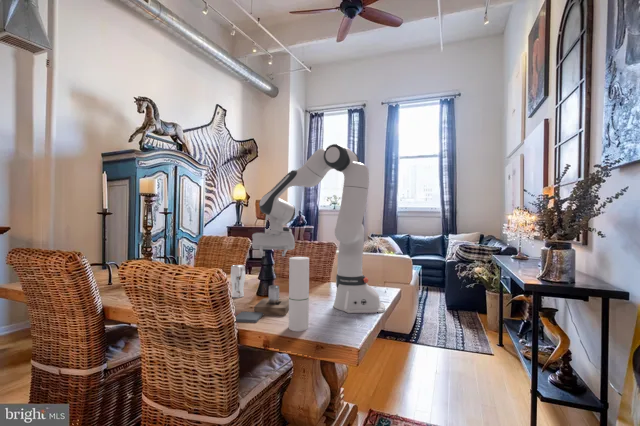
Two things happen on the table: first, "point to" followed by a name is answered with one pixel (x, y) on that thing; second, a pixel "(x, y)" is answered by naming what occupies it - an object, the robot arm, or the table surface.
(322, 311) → the table surface
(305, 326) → the cylindrical container
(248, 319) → the slate mat
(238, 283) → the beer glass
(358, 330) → the table surface
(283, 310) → the walnut bore block
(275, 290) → the metal plug
